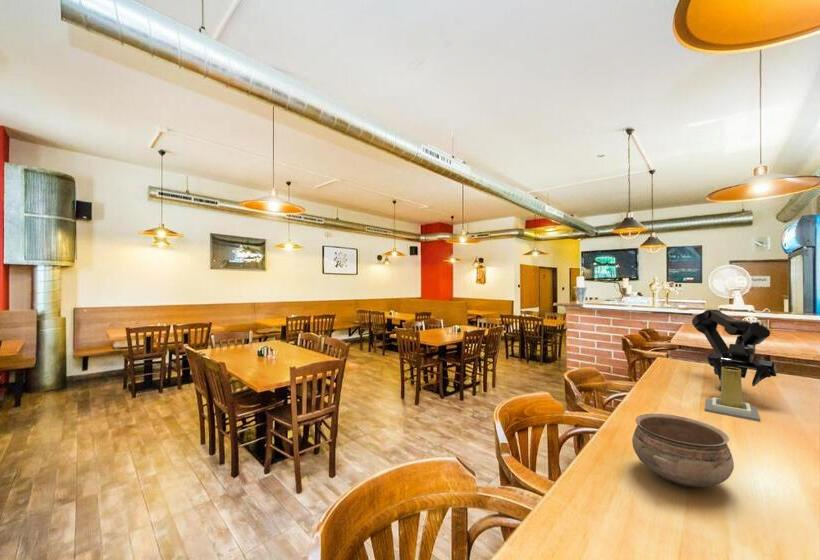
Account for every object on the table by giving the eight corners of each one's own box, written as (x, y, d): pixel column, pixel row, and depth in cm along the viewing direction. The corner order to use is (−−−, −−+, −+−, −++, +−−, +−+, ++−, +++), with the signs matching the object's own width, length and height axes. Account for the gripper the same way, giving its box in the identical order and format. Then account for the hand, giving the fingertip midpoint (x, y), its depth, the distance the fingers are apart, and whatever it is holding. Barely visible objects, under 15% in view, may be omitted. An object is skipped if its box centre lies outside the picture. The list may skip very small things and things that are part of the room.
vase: (733, 405, 128) (733, 366, 128) (748, 411, 122) (747, 370, 122) (715, 404, 128) (715, 366, 128) (729, 410, 122) (728, 370, 122)
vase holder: (706, 400, 135) (706, 394, 135) (756, 409, 126) (756, 403, 126) (704, 411, 125) (704, 404, 125) (760, 421, 115) (760, 414, 115)
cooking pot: (654, 448, 98) (654, 404, 98) (747, 479, 82) (746, 428, 82) (612, 478, 83) (612, 427, 83) (715, 523, 68) (715, 460, 68)
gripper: (708, 333, 140) (699, 364, 134) (775, 339, 125) (767, 375, 118) (715, 350, 145) (706, 381, 138) (779, 358, 129) (773, 393, 123)
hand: (735, 382), depth 129 cm, fingers open, 9 cm apart
